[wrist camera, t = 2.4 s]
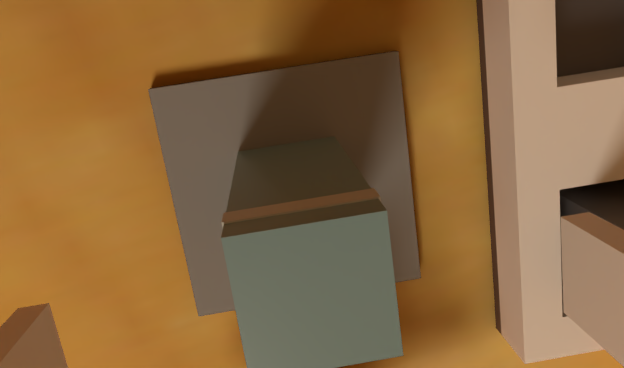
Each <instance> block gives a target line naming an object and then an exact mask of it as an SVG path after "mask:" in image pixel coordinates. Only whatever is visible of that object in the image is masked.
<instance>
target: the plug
mask: <svg viewBox="0 0 624 368" xmlns="http://www.w3.org/2000/svg"><path fill="white" fill-rule="evenodd" d="M221 223H222V228H223V230H222V235H221V241H222V246H223V251H224V256H225V261H226V265H227V270H228V275H229V280H230V285H231V290H232V295H233V300H234V305H235V310H236V315H237V320H238V325H239V330H240V335H241V340H242V345H243V350H244V355H245V360H246V365H247V368H337V367H343V366H348V365H354V364H359V363H365V362H371V361H376V360H382V359H387V358H393V357H399V356H403V348H402V339H401V330H400V322H399V313H398V304H397V295H396V286H395V277H394V268H393V259H392V251H391V242H390V233H389V224H388V215H387V210H386V208H385V207H384V206H383V204H382V203H381V199H380V195H379V194H378V193H377V191H376V190H375V189H374V188H371V187H370V186H369V184H368V183H367V182H366V180H365V179H364V177H363V176H362V174H361V173H360V172H359V170H358V169H357V167H356V166H355V165H354V163H353V162H352V160H351V159H350V158H349V156H348V155H347V153H346V152H345V150H344V149H343V148H342V146H341V145H340V143H339V142H338V141H337V139H336V138H335V136H333V137H326V138H320V139H314V140H308V141H301V142H295V143H289V144H282V145H276V146H270V147H263V148H257V149H251V150H245V151H238V154H237V159H236V164H235V169H234V174H233V179H232V185H231V190H230V195H229V200H228V205H227V210H226V212H225V213H223V217H222V222H221Z"/></svg>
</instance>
